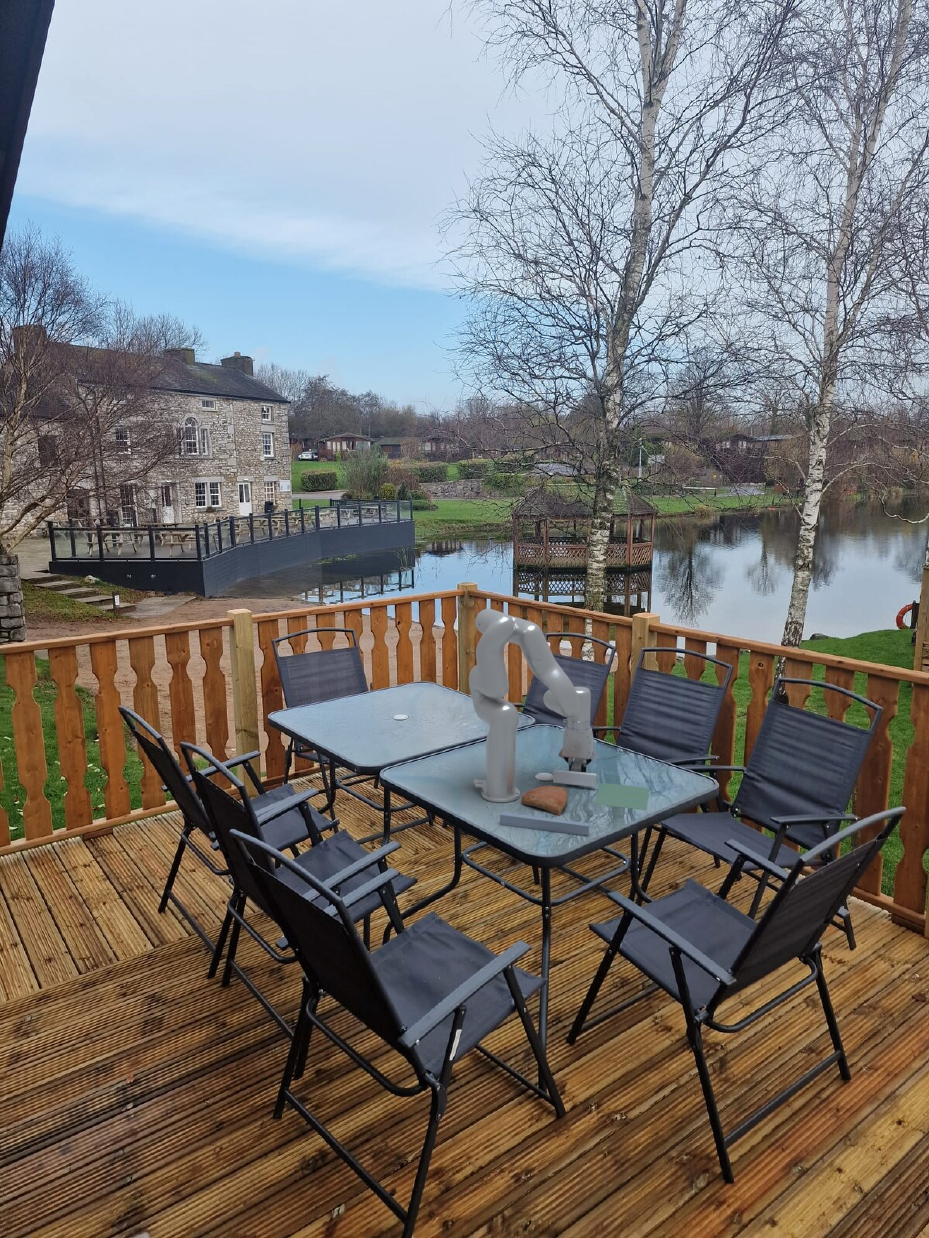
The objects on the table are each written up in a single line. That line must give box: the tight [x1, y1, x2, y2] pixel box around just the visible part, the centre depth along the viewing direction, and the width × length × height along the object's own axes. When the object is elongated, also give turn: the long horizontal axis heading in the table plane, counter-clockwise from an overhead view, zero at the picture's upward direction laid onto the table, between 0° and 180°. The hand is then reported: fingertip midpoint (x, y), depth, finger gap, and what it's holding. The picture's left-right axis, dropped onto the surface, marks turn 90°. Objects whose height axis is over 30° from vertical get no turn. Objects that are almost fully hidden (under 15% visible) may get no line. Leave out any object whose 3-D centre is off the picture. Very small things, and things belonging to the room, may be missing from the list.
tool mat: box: [593, 782, 650, 811], centre depth 244 cm, size 16×18×1 cm
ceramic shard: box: [520, 785, 568, 816], centre depth 239 cm, size 15×6×15 cm
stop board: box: [499, 811, 590, 836], centre depth 221 cm, size 26×2×3 cm, turn 74°
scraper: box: [552, 758, 597, 788], centre depth 256 cm, size 14×14×5 cm
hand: (577, 775), depth 257 cm, fingers closed on scraper, 3 cm apart
